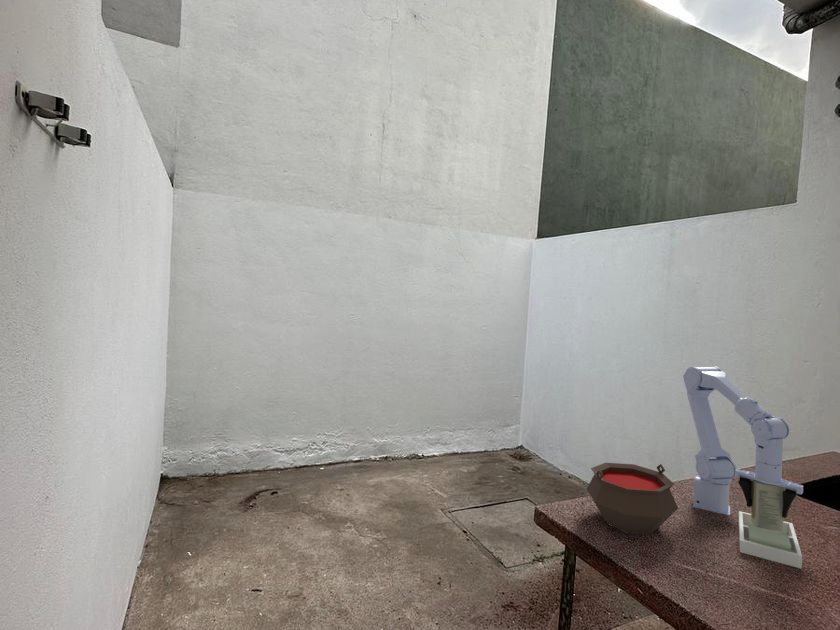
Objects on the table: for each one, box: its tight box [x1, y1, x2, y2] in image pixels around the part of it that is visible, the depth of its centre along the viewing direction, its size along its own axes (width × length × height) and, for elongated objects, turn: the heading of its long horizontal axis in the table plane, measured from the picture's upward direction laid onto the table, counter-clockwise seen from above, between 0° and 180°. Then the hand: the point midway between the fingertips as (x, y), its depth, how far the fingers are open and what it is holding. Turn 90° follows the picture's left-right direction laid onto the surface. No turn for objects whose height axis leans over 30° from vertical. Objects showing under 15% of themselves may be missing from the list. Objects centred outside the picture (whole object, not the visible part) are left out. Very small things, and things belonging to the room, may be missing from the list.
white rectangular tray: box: [738, 510, 803, 570], centre depth 118 cm, size 12×20×4 cm, turn 145°
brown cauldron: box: [586, 462, 679, 536], centre depth 129 cm, size 24×24×16 cm
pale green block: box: [749, 526, 791, 552], centre depth 114 cm, size 8×6×4 cm
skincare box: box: [750, 480, 785, 532], centre depth 122 cm, size 6×4×12 cm
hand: (766, 511), depth 122 cm, fingers closed on skincare box, 7 cm apart
